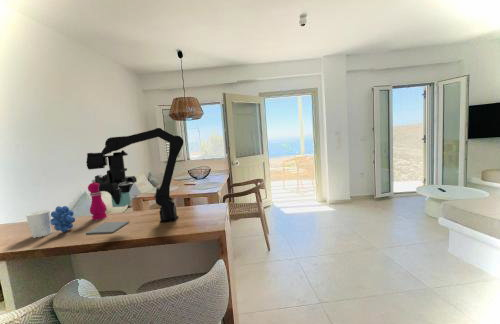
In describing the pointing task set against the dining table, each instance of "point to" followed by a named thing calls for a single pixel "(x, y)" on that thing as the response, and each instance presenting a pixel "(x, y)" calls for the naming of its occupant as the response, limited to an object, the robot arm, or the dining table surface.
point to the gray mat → (107, 227)
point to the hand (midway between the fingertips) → (121, 202)
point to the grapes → (62, 218)
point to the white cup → (39, 223)
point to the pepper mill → (96, 202)
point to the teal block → (122, 200)
